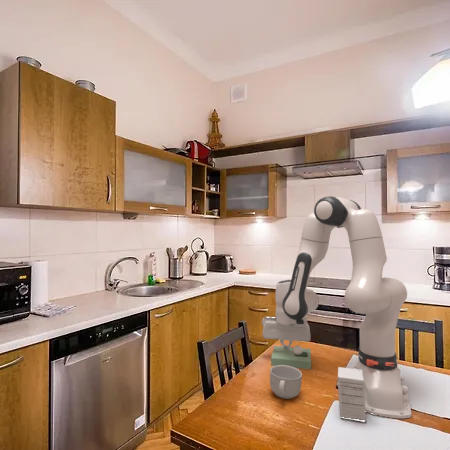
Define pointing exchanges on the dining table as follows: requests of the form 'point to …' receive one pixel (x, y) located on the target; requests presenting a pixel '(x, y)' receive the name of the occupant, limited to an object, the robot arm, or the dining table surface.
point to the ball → (297, 350)
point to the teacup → (285, 381)
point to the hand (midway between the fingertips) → (286, 349)
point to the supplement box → (351, 393)
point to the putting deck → (291, 358)
